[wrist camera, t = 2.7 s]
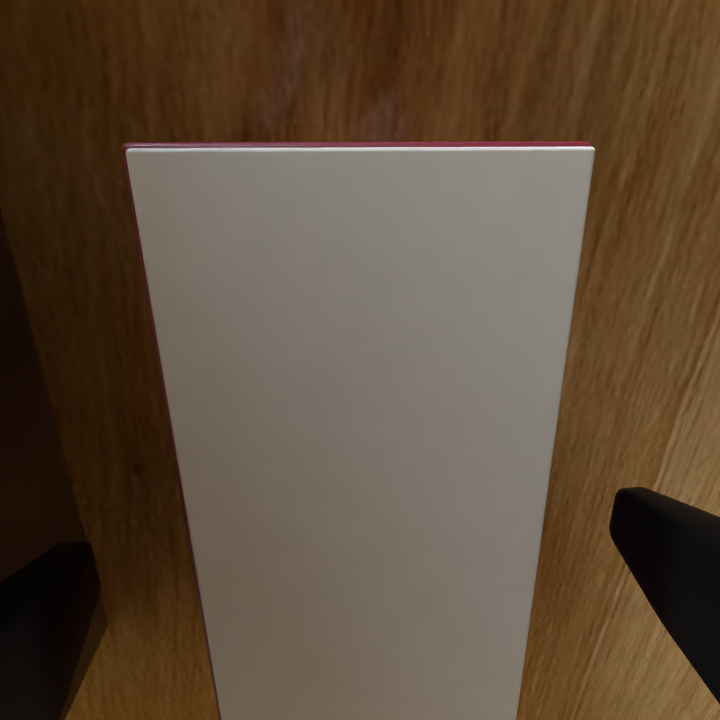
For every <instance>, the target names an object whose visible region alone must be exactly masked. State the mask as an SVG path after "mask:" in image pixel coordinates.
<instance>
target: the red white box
mask: <svg viewBox="0 0 720 720" xmlns="http://www.w3.org/2000/svg"><path fill="white" fill-rule="evenodd" d="M121 151H122V157H123V163H124V169H125V174H126V180H127V186H128V192H129V198H130V204H131V209H132V215H133V221H134V227H135V233H136V238H137V244H138V250H139V256H140V262H141V268H142V273H143V279H144V285H145V291H146V297H147V303H148V308H149V314H150V320H151V326H152V332H153V338H154V343H155V349H156V355H157V361H158V367H159V372H160V378H161V384H162V390H163V396H164V402H165V407H166V413H167V419H168V425H169V431H170V437H171V442H172V448H173V454H174V460H175V466H176V472H177V477H178V483H179V489H180V495H181V501H182V507H183V512H184V518H185V524H186V530H187V536H188V541H189V547H190V553H191V559H192V565H193V571H194V576H195V582H196V588H197V594H198V600H199V606H200V611H201V617H202V623H203V629H204V635H205V641H206V646H207V652H208V658H209V664H210V670H211V675H212V681H213V687H214V693H215V699H216V705H217V710H218V716H219V720H516V718H517V711H518V704H519V696H520V689H521V682H522V675H523V668H524V661H525V653H526V646H527V639H528V632H529V625H530V617H531V610H532V603H533V596H534V589H535V582H536V574H537V567H538V560H539V553H540V546H541V538H542V531H543V524H544V517H545V510H546V502H547V495H548V488H549V481H550V474H551V467H552V459H553V452H554V445H555V438H556V431H557V423H558V416H559V409H560V402H561V395H562V387H563V380H564V373H565V366H566V359H567V352H568V344H569V337H570V330H571V323H572V316H573V308H574V301H575V294H576V287H577V280H578V273H579V265H580V258H581V251H582V244H583V237H584V229H585V222H586V215H587V208H588V201H589V193H590V186H591V179H592V172H593V165H594V158H595V148H593V147H592V146H591V144H590V143H588V142H586V141H465V142H127V143H125V144H123V145H122V150H121Z"/></svg>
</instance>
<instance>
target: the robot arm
mask: <svg viewBox="0 0 720 720" xmlns="http://www.w3.org/2000/svg"><path fill="white" fill-rule="evenodd" d="M609 529H610V535H611V538H612V540H613V542H614V544H615V546H616V547H617V549H618V551H619V552H620V554H621V556H622V557H623V559H624V561H625V562H626V564H627V566H628V567H629V569H630V571H631V572H632V574H633V576H634V577H635V579H636V581H637V583H638V584H639V586H640V588H641V589H642V591H643V593H644V594H645V596H646V598H647V599H648V601H649V603H650V604H651V606H652V608H653V609H654V611H655V613H656V614H657V616H658V617H659V619H660V621H661V622H662V624H663V625H664V627H665V628H666V629H667V631H668V632H669V634H670V635H671V637H672V638H673V640H674V641H675V642H676V644H677V645H678V647H679V648H680V649H681V651H682V652H683V654H684V655H685V656H686V658H687V659H688V661H689V662H690V663H691V665H692V666H693V668H694V669H695V670H696V672H697V673H698V675H699V676H700V677H701V679H702V680H703V682H704V683H705V684H706V686H707V687H708V689H709V690H710V691H711V693H712V694H713V695H714V697H715V698H716V700H717V701H718V702H719V704H720V517H718V516H716V515H713V514H711V513H708V512H706V511H703V510H700V509H698V508H695V507H693V506H690V505H688V504H685V503H683V502H680V501H677V500H675V499H672V498H670V497H667V496H665V495H662V494H660V493H657V492H655V491H652V490H649V489H647V488H644V487H632V488H622V489H620V490H618V492H617V493H616V495H615V499H614V504H613V510H612V515H611V520H610V525H609ZM100 591H101V581H100V576H99V572H98V568H97V564H96V561H95V557H94V553H93V549H92V546H91V544H90V543H89V542H88V541H85V540H80V541H70V542H62V543H59V544H57V545H55V546H53V547H52V548H50V549H49V550H48V551H46V552H45V553H43V554H42V555H40V556H39V557H37V558H36V559H34V560H33V561H31V562H30V563H28V564H27V565H25V566H24V567H22V568H21V569H19V570H18V571H17V572H15V573H14V574H12V575H11V576H9V577H8V578H6V579H5V580H3V581H2V582H0V720H60V717H61V715H62V712H63V710H64V707H65V704H66V702H67V699H68V696H69V693H70V690H71V687H72V684H73V681H74V678H75V675H76V671H77V668H78V665H79V662H80V658H81V655H82V652H83V649H84V645H85V642H86V639H87V636H88V632H89V629H90V626H91V623H92V619H93V616H94V613H95V610H96V606H97V603H98V600H99V596H100Z"/></svg>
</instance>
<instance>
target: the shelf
mask: <svg viewBox="0 0 720 720" xmlns="http://www.w3.org/2000/svg"><path fill="white" fill-rule="evenodd" d="M80 540H85V541H86V539H85V535H84V531H83V527H82V523H81V520H80V516H79V512H78V508H77V504H76V500H75V497H74V493H73V489H72V485H71V481H70V478H69V474H68V470H67V466H66V462H65V458H64V455H63V451H62V447H61V443H60V439H59V436H58V432H57V428H56V424H55V420H54V416H53V413H52V409H51V405H50V401H49V397H48V394H47V390H46V386H45V382H44V378H43V374H42V371H41V367H40V363H39V359H38V355H37V352H36V348H35V344H34V340H33V336H32V332H31V329H30V325H29V321H28V317H27V313H26V310H25V306H24V302H23V298H22V294H21V290H20V287H19V283H18V279H17V275H16V271H15V268H14V264H13V260H12V256H11V252H10V248H9V245H8V241H7V237H6V233H5V229H4V226H3V222H2V218H1V214H0V582H2V581H3V580H5V579H6V578H8V577H9V576H11V575H12V574H14V573H15V572H17V571H18V570H19V569H21V568H22V567H24V566H25V565H27V564H28V563H30V562H31V561H33V560H34V559H36V558H37V557H39V556H40V555H42V554H43V553H45V552H46V551H48V550H49V549H50V548H52V547H53V546H55V545H57V544H59V543H62V542H70V541H80ZM107 626H108V623H107V619H106V615H105V611H104V607H103V603H102V600H101V596H99V600H98V603H97V606H96V610H95V613H94V616H93V619H92V623H91V626H90V629H89V632H88V636H87V639H86V642H85V645H84V649H83V652H82V655H81V658H80V662H79V665H78V668H77V671H76V675H75V678H74V681H73V684H72V687H71V690H70V693H69V696H68V699H67V702H66V704H65V707H64V710H63V712H62V715H61V717H60V720H65V719H66V716H67V714H68V712H69V710H70V708H71V705H72V703H73V701H74V699H75V697H76V694H77V692H78V690H79V688H80V686H81V683H82V681H83V679H84V677H85V674H86V672H87V670H88V668H89V666H90V663H91V661H92V659H93V657H94V655H95V652H96V650H97V648H98V646H99V644H100V641H101V639H102V637H103V635H104V632H105V630H106V628H107Z"/></svg>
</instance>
